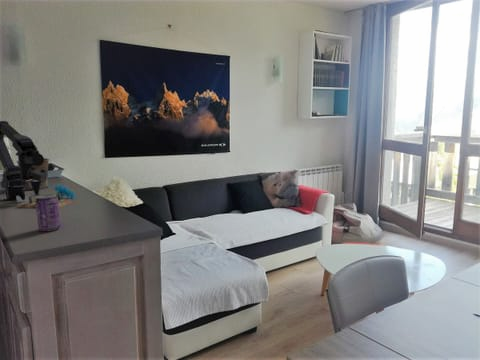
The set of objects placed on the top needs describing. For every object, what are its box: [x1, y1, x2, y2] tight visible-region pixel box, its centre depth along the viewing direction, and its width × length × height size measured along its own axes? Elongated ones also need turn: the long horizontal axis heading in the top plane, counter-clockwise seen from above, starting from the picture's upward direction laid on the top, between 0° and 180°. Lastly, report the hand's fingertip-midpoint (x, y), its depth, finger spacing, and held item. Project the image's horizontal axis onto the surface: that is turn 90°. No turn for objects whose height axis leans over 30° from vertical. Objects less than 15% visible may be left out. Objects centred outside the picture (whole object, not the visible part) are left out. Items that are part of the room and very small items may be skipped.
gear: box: [54, 184, 76, 199], centre depth 189 cm, size 11×6×10 cm
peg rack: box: [17, 193, 73, 209], centre depth 179 cm, size 20×10×4 cm, turn 80°
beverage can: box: [35, 193, 62, 232], centre depth 138 cm, size 7×7×12 cm
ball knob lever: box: [16, 193, 48, 203], centre depth 188 cm, size 16×4×3 cm, turn 81°
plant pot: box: [16, 158, 50, 191], centre depth 223 cm, size 16×16×16 cm
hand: (30, 197), depth 188 cm, fingers open, 9 cm apart
